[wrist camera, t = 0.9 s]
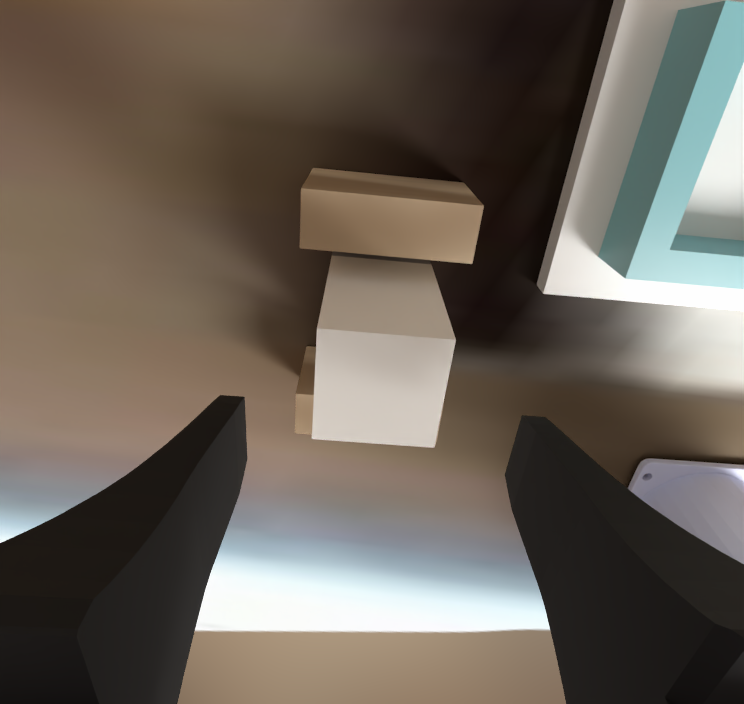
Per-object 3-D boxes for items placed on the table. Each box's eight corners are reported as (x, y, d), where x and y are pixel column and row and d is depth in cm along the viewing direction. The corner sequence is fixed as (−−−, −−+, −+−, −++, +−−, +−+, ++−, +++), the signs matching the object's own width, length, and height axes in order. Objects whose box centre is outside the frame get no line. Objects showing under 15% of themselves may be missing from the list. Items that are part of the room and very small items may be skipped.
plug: (414, 335, 23) (434, 447, 16) (329, 328, 23) (311, 439, 16) (427, 252, 21) (455, 339, 14) (334, 244, 21) (316, 328, 14)
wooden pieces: (426, 391, 25) (436, 443, 21) (305, 381, 25) (294, 433, 21) (463, 182, 20) (483, 205, 16) (313, 167, 20) (301, 188, 16)
